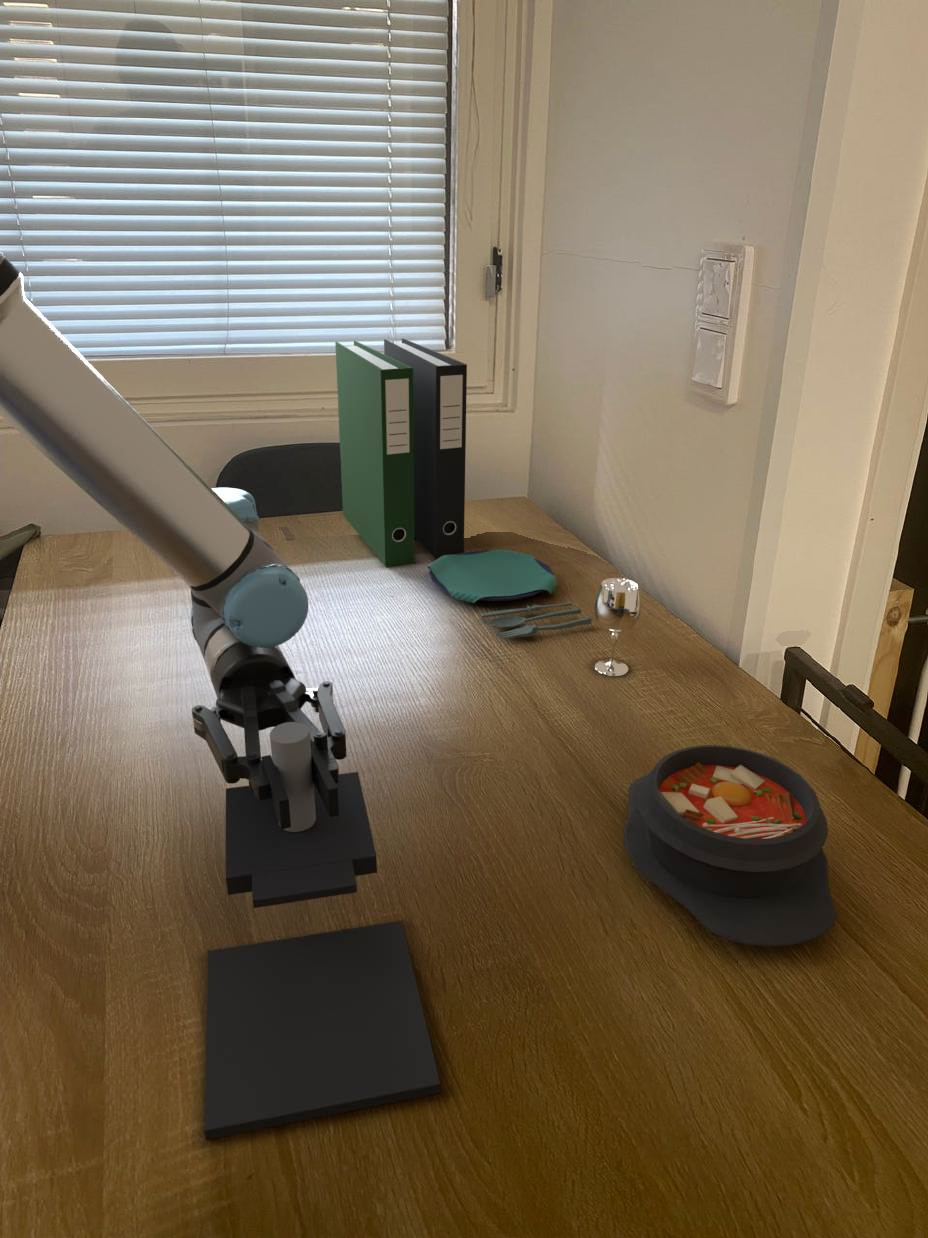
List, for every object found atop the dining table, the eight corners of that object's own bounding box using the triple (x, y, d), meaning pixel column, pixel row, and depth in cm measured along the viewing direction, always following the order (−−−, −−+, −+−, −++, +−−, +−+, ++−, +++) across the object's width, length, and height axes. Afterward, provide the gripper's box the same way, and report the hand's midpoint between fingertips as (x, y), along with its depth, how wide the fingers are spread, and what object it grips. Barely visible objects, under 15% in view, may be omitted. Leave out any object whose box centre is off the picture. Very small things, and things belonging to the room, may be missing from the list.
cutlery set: (524, 555, 156) (525, 542, 155) (605, 628, 131) (606, 614, 130) (413, 568, 150) (413, 555, 149) (475, 648, 125) (476, 633, 124)
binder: (339, 515, 173) (331, 341, 159) (412, 506, 178) (410, 337, 164) (385, 566, 151) (380, 369, 137) (467, 554, 156) (470, 364, 142)
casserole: (887, 948, 77) (910, 871, 73) (679, 977, 74) (692, 897, 70) (751, 775, 99) (763, 709, 95) (587, 792, 96) (593, 724, 92)
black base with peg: (228, 922, 70) (212, 809, 65) (227, 804, 83) (214, 702, 78) (382, 898, 72) (378, 787, 68) (358, 787, 86) (353, 688, 81)
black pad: (205, 1141, 60) (203, 1131, 60) (209, 959, 74) (207, 950, 74) (440, 1093, 64) (440, 1084, 63) (401, 928, 78) (401, 919, 77)
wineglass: (585, 658, 123) (592, 576, 117) (626, 657, 123) (635, 575, 118) (595, 679, 117) (603, 595, 112) (638, 678, 118) (648, 593, 113)
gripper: (330, 689, 95) (407, 821, 76) (170, 721, 89) (209, 872, 70) (326, 625, 92) (406, 746, 73) (160, 654, 86) (198, 793, 67)
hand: (309, 808), depth 71 cm, fingers closed on black base with peg, 3 cm apart
